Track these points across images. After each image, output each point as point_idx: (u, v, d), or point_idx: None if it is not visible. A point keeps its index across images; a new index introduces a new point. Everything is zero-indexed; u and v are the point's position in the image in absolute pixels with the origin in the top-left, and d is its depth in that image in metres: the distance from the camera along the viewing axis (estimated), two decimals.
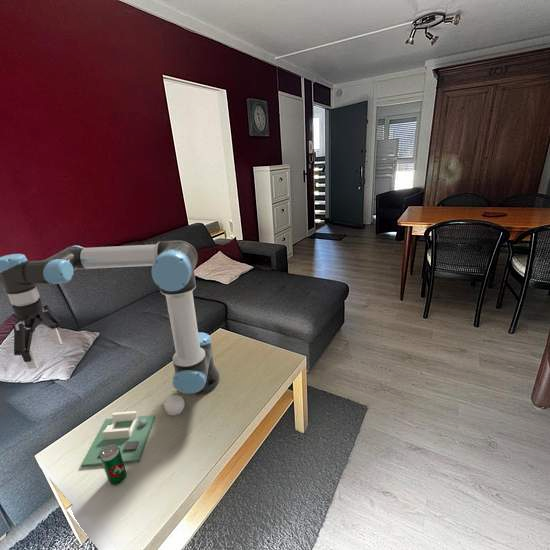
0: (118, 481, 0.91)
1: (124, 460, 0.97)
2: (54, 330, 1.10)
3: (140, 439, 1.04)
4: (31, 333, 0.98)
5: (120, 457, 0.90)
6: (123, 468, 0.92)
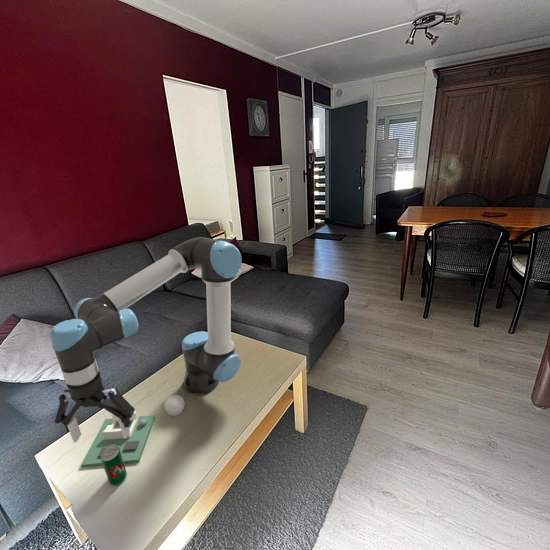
0: (118, 481, 0.91)
1: (124, 460, 0.97)
2: None
3: (140, 439, 1.04)
4: (74, 410, 0.81)
5: (120, 457, 0.90)
6: (123, 468, 0.92)
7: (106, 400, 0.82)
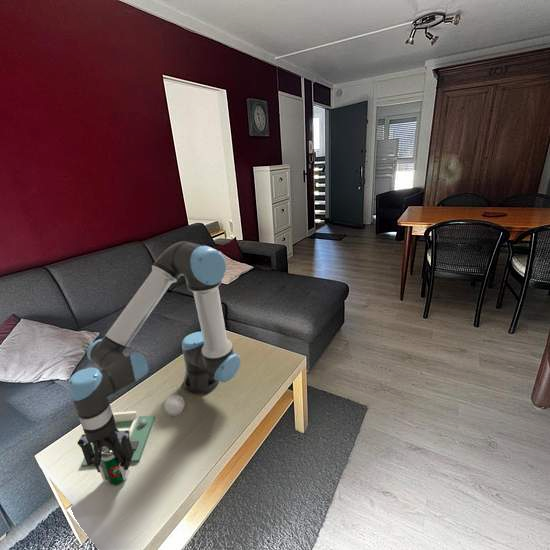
0: (118, 481, 0.91)
1: None
2: None
3: (140, 439, 1.04)
4: (96, 451, 0.87)
5: None
6: None
7: (115, 442, 0.88)
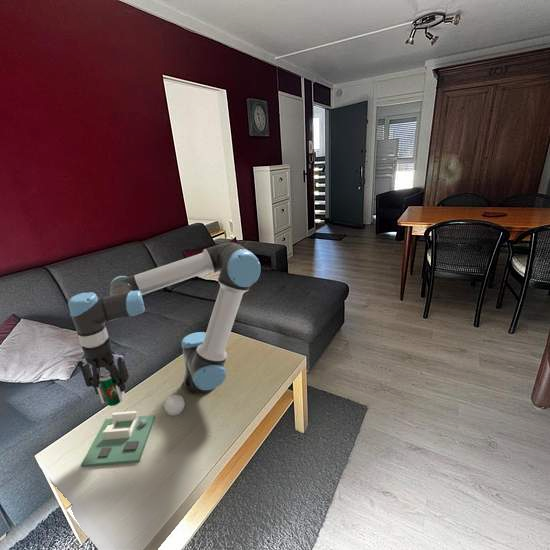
0: (115, 402, 1.00)
1: (124, 460, 0.97)
2: None
3: (140, 439, 1.04)
4: (95, 372, 0.96)
5: None
6: None
7: (112, 364, 0.97)
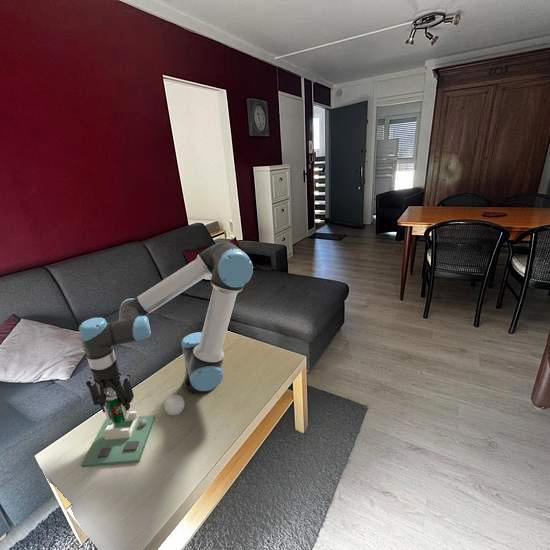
0: (120, 420, 1.05)
1: (124, 460, 0.97)
2: None
3: (140, 439, 1.04)
4: (102, 392, 1.01)
5: None
6: None
7: (118, 385, 1.02)
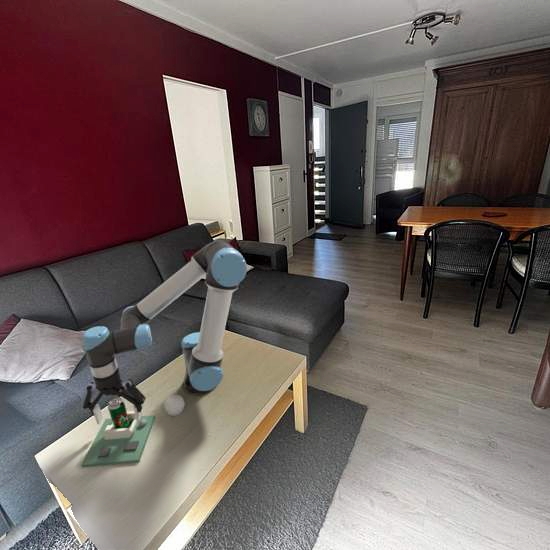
0: None
1: (124, 460, 0.97)
2: None
3: (140, 439, 1.04)
4: (98, 397, 1.02)
5: (124, 408, 1.06)
6: (127, 418, 1.08)
7: (123, 390, 1.03)
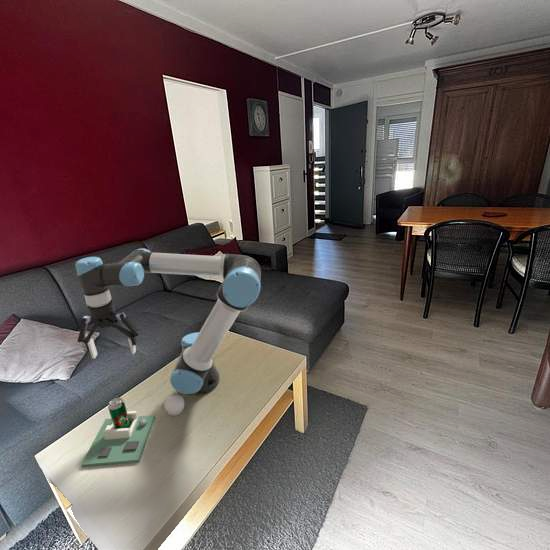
0: None
1: (124, 460, 0.97)
2: None
3: (140, 439, 1.04)
4: (93, 330, 1.04)
5: (125, 408, 1.06)
6: (127, 418, 1.08)
7: (118, 322, 1.06)
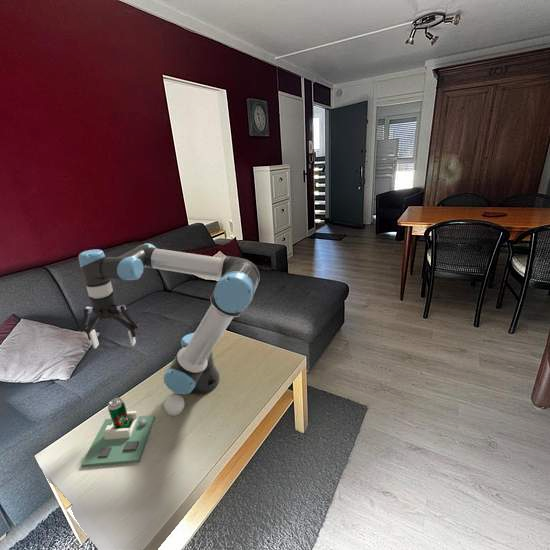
0: None
1: (124, 460, 0.97)
2: None
3: (140, 439, 1.04)
4: (94, 320, 1.07)
5: (124, 408, 1.06)
6: (127, 418, 1.08)
7: (118, 314, 1.09)
